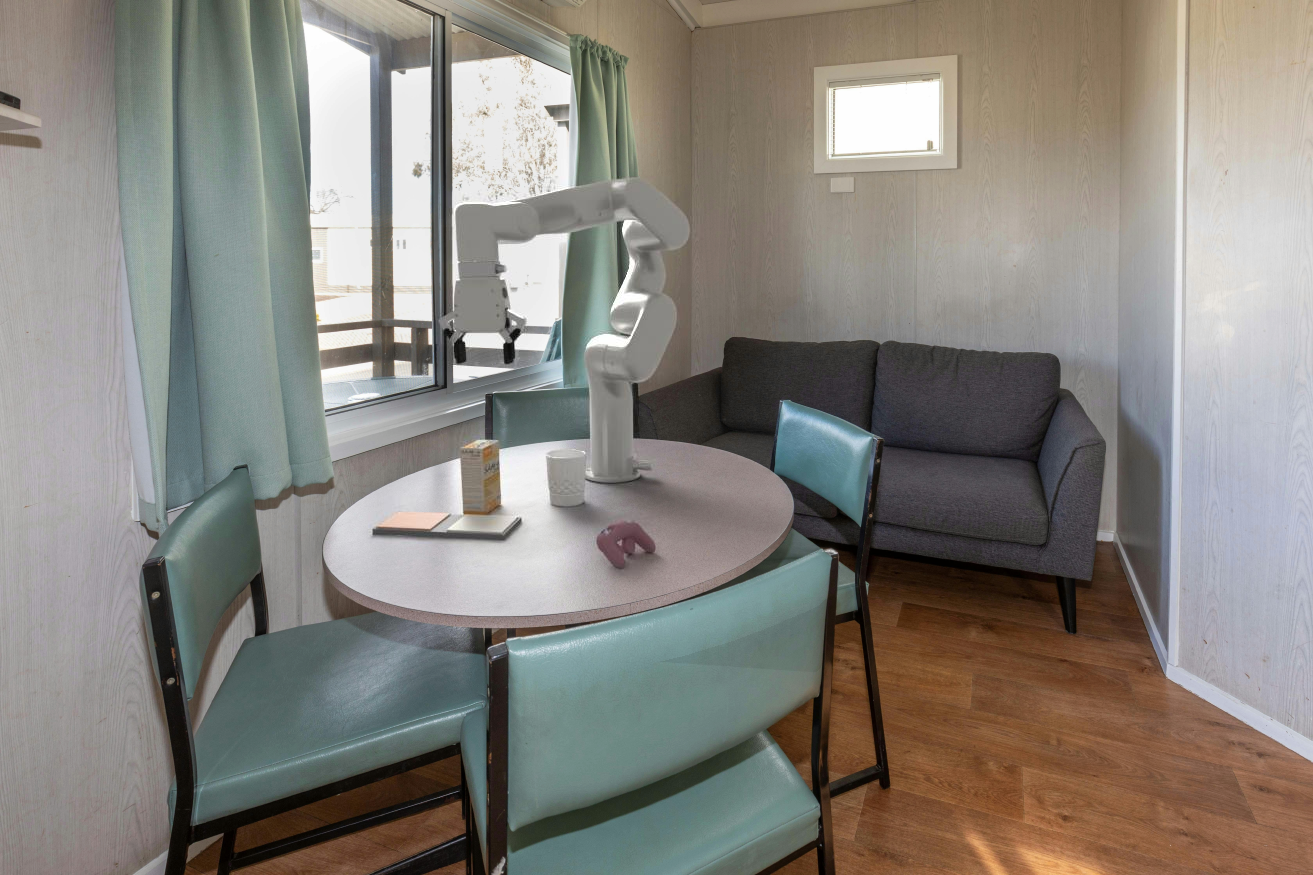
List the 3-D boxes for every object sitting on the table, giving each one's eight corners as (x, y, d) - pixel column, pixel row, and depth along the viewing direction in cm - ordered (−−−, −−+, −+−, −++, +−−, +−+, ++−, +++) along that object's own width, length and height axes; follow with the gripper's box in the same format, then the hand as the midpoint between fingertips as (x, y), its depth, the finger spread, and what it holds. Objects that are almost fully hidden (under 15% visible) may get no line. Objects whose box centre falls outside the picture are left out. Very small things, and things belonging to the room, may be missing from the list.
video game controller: (639, 556, 134) (624, 517, 135) (659, 549, 131) (644, 510, 132) (603, 575, 126) (587, 533, 127) (624, 568, 124) (607, 526, 124)
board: (521, 522, 147) (521, 515, 147) (504, 540, 137) (503, 533, 137) (398, 516, 150) (398, 510, 150) (372, 534, 141) (372, 527, 140)
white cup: (593, 498, 162) (592, 450, 160) (576, 509, 155) (575, 459, 153) (558, 495, 165) (556, 447, 163) (540, 505, 158) (538, 456, 156)
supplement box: (486, 516, 151) (482, 448, 148) (462, 514, 152) (458, 447, 149) (502, 503, 159) (499, 439, 156) (480, 502, 160) (476, 438, 157)
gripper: (530, 270, 151) (534, 361, 155) (445, 272, 154) (451, 360, 158) (515, 271, 144) (521, 366, 148) (426, 273, 147) (434, 365, 151)
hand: (485, 363), depth 153 cm, fingers open, 9 cm apart
